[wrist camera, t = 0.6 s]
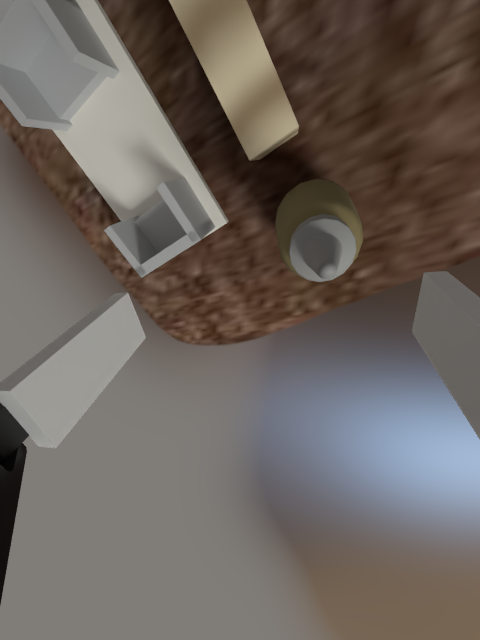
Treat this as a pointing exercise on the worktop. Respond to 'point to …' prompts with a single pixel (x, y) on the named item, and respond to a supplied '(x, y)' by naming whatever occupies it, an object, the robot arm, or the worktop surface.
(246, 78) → the rail
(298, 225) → the squeeze bottle
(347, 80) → the worktop surface
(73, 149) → the bracket board
